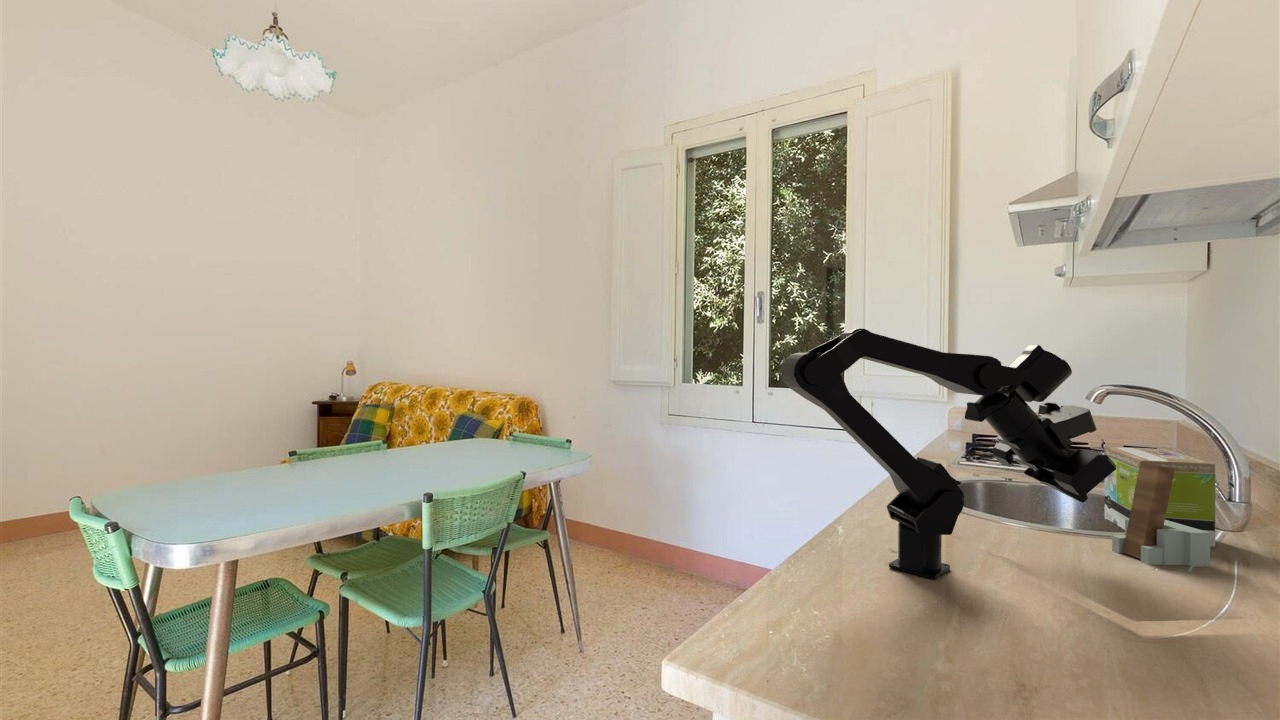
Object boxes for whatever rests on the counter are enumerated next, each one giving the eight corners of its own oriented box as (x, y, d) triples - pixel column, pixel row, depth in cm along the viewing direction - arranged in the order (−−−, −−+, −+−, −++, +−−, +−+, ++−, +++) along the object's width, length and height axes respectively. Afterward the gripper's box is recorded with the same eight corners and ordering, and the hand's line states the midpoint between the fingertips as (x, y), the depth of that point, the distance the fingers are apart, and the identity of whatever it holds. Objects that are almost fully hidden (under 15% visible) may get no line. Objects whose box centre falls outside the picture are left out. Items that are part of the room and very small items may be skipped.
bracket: (1145, 575, 82) (1145, 533, 82) (1097, 556, 90) (1097, 518, 90) (1214, 574, 83) (1214, 532, 83) (1160, 555, 91) (1160, 517, 91)
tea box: (1101, 523, 109) (1102, 445, 109) (1168, 528, 106) (1168, 448, 106) (1140, 547, 95) (1141, 457, 95) (1218, 555, 92) (1219, 461, 92)
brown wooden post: (1140, 559, 85) (1159, 465, 85) (1122, 552, 88) (1140, 462, 88) (1156, 562, 85) (1174, 469, 85) (1137, 555, 88) (1155, 465, 88)
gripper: (1109, 395, 76) (1184, 482, 76) (1018, 380, 94) (1079, 450, 95) (1043, 451, 76) (1118, 537, 77) (965, 425, 95) (1026, 494, 96)
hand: (1083, 500), depth 86 cm, fingers closed
